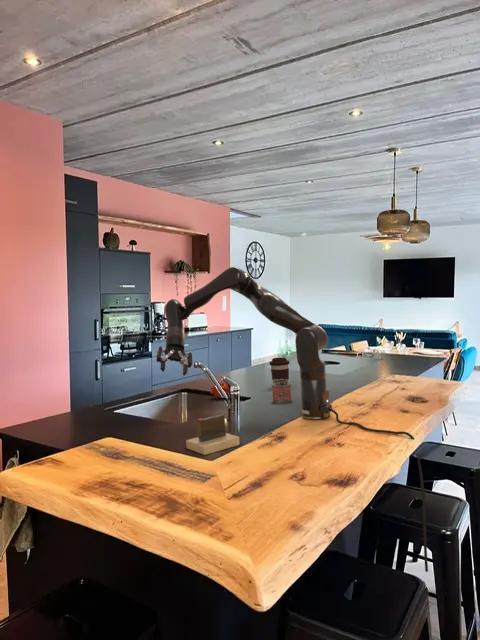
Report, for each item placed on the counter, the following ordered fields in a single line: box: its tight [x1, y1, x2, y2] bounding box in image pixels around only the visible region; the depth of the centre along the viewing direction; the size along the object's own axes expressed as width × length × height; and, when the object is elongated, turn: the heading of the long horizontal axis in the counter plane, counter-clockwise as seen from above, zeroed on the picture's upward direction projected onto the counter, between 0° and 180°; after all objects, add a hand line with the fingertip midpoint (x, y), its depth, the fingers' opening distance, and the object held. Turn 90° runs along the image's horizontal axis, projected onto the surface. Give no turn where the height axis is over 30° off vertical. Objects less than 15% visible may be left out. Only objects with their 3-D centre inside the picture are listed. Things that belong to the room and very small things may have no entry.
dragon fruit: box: [209, 381, 230, 400], centre depth 224 cm, size 8×8×12 cm
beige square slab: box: [185, 432, 240, 456], centre depth 149 cm, size 13×13×3 cm
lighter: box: [271, 379, 292, 404], centre depth 207 cm, size 8×3×10 cm, turn 84°
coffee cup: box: [269, 356, 291, 385], centre depth 241 cm, size 10×10×15 cm
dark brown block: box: [197, 413, 227, 442], centre depth 148 cm, size 9×2×7 cm, turn 128°
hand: (174, 372), depth 190 cm, fingers open, 8 cm apart
